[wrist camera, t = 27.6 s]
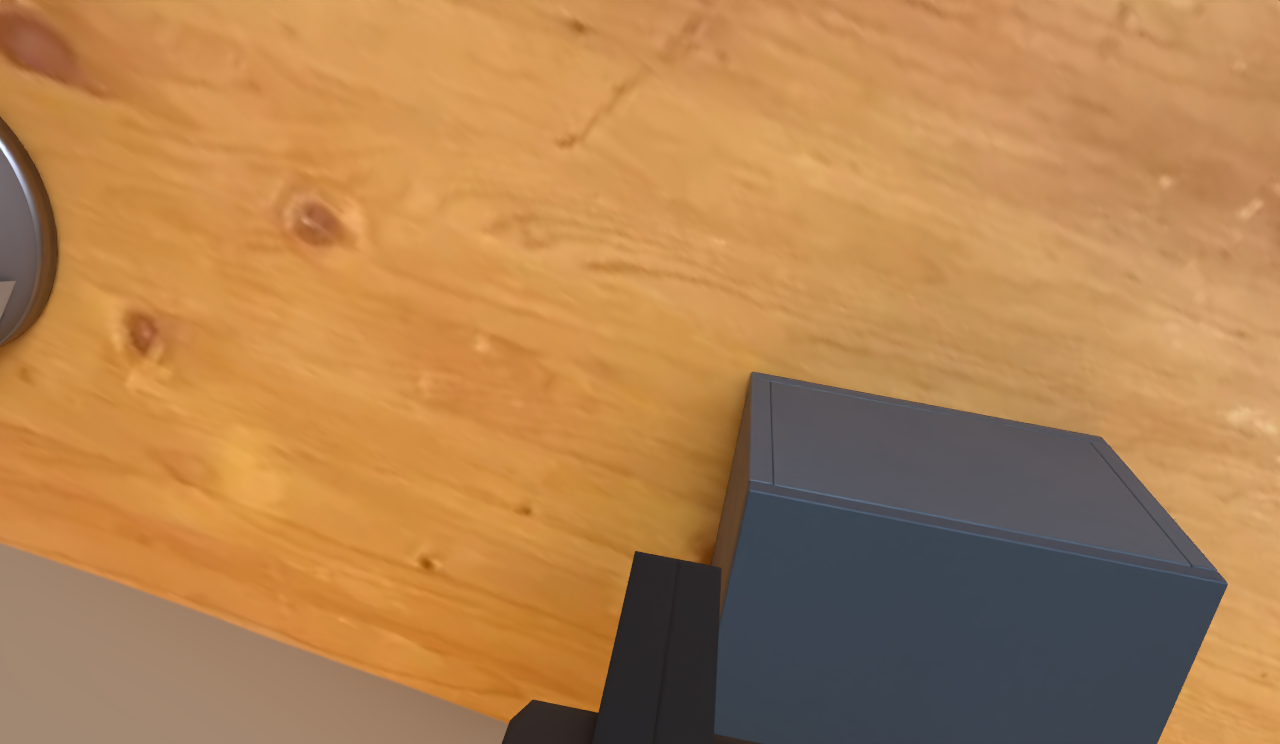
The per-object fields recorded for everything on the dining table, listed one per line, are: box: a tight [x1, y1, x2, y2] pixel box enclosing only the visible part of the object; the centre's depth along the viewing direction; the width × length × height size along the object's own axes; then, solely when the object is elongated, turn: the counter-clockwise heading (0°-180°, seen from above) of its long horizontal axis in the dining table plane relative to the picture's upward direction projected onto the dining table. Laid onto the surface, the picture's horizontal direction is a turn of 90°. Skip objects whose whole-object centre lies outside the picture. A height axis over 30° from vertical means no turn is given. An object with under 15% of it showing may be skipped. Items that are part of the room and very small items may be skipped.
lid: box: [714, 481, 1227, 744], centre depth 36 cm, size 17×17×1 cm
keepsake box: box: [711, 372, 1217, 609], centre depth 42 cm, size 16×17×12 cm
